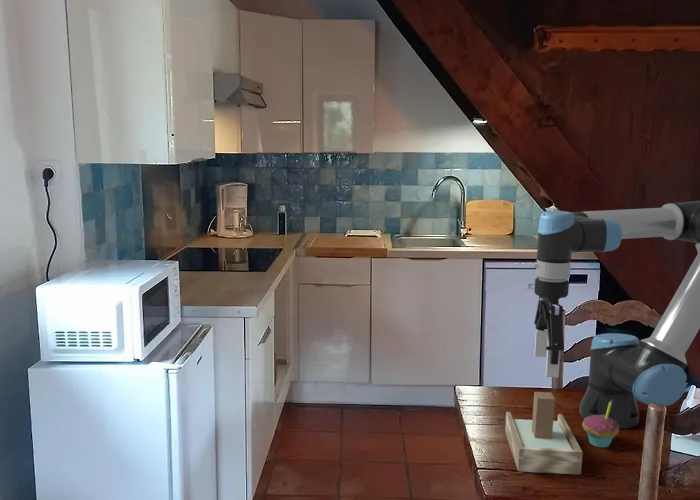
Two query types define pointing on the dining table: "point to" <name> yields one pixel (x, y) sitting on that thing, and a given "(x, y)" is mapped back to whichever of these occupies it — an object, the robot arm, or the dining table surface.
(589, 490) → the dining table surface
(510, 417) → the birch box
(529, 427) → the cover plate
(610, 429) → the cupcake
